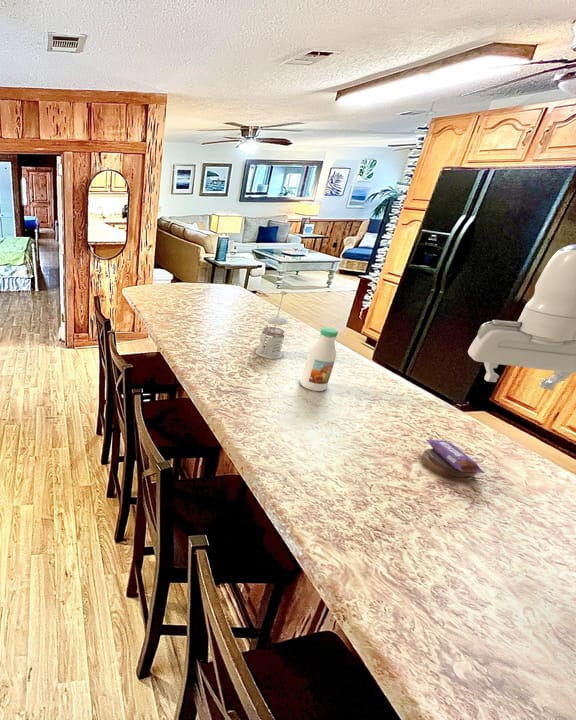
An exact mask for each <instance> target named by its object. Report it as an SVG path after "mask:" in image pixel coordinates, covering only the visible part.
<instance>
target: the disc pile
mask: <svg viewBox="0 0 576 720" xmlns="http://www.w3.org/2000/svg"><path fill="white" fill-rule="evenodd" d="M422 461H423V464H424V466H425V467H426V468H428V469H429V470H430V472H433V473H434V474H436V475H438V476H440V477H442V478H444V479H447V480H450V481H453V482H458V483H459V482H461V483H466V482H469V481H471V479H472V478H473V476H477V474H478V473H474V472H462V471H460V470H458V469H456V468H455V467H453V466H452V465H451V464H450V463H449V462H448V461H447V460H445V459H444V458H443V457H442V456H441V455H440V454H439V453H437V452H436V451H435V450H434V449H433V448H427V449H425V450H424V451H423V453H422Z"/></svg>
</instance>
